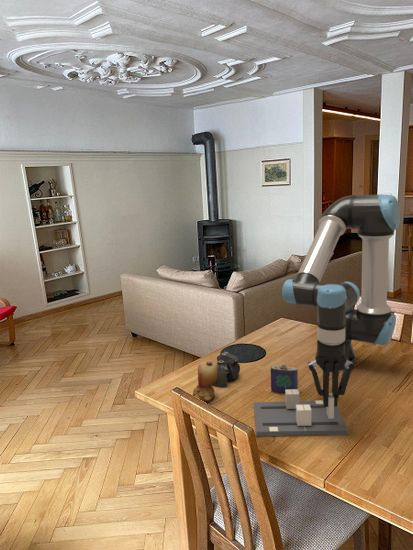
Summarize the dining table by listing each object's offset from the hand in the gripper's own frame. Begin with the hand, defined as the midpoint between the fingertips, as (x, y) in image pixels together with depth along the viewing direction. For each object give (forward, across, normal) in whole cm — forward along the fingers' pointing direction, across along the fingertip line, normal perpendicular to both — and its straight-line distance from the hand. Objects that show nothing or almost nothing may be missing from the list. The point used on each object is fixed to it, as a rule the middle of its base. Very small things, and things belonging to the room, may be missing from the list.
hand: (330, 415), depth 120 cm
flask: (+4, +11, -22) cm, 24 cm away
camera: (+4, +31, -32) cm, 45 cm away
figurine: (+4, +38, -19) cm, 42 cm away
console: (+4, +9, -4) cm, 11 cm away
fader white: (+2, +8, 0) cm, 8 cm away
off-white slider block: (+2, +10, -9) cm, 13 cm away
